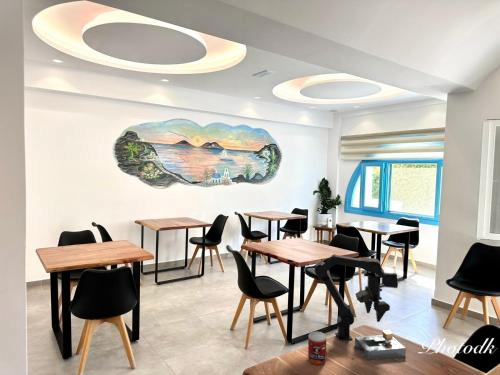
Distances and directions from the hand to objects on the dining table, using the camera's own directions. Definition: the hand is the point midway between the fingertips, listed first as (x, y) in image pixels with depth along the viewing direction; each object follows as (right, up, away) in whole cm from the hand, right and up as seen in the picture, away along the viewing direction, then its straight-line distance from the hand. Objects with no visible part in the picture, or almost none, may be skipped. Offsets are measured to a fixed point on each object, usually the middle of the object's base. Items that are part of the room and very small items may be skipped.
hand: (373, 317), depth 156 cm
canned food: (-30, -13, -15) cm, 36 cm away
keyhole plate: (0, -12, -7) cm, 14 cm away
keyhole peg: (+4, -12, -7) cm, 15 cm away
